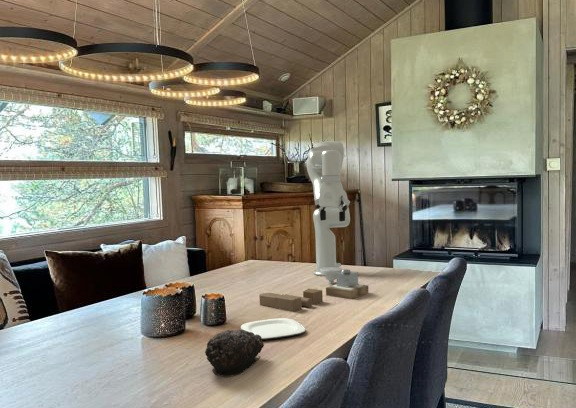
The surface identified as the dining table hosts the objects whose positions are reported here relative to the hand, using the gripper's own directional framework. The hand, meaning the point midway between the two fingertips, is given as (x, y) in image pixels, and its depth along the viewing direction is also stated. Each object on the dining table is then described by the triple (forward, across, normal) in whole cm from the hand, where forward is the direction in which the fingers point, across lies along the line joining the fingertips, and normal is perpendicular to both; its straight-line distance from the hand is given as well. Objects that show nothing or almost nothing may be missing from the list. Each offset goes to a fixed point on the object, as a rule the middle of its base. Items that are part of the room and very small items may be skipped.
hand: (332, 220), depth 215 cm
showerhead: (+28, -5, +5) cm, 29 cm away
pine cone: (+28, +31, -88) cm, 97 cm away
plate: (+28, +20, -61) cm, 70 cm away
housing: (+24, +12, -8) cm, 28 cm away
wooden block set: (+28, +3, -32) cm, 43 cm away
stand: (+28, +12, -8) cm, 31 cm away
